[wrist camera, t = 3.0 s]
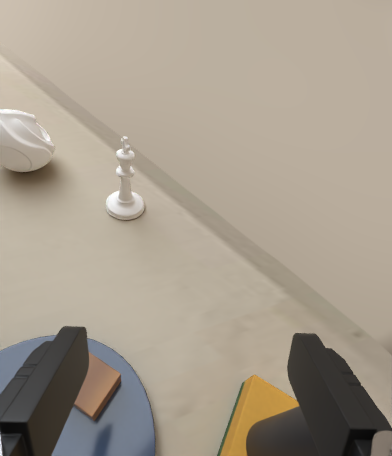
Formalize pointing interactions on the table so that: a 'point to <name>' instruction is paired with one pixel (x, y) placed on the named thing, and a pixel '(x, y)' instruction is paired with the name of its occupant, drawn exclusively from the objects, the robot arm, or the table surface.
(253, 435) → the dish sponge
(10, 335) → the table surface
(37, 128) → the white round lump
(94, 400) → the orange brown rectangular block
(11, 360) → the plate
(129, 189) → the chess piece
